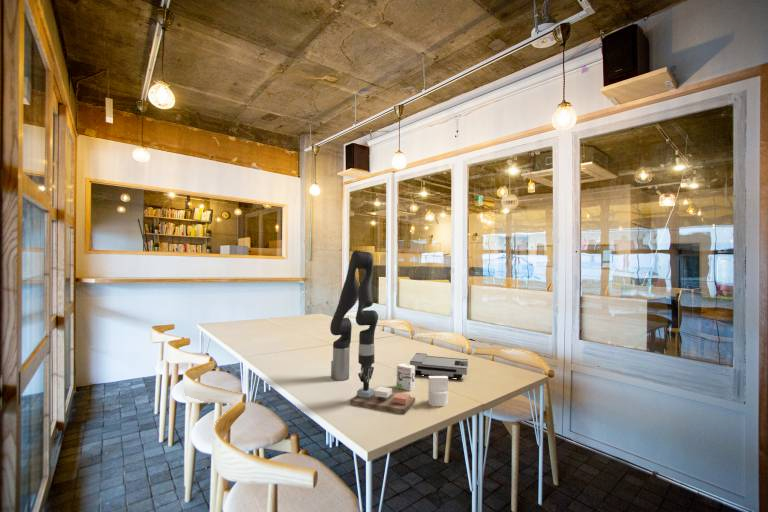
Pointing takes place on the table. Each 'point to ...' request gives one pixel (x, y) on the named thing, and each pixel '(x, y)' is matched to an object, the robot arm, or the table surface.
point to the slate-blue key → (365, 393)
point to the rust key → (401, 398)
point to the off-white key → (383, 392)
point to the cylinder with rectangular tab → (438, 390)
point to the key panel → (383, 403)
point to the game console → (439, 366)
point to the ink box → (405, 377)
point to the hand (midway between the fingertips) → (366, 389)
